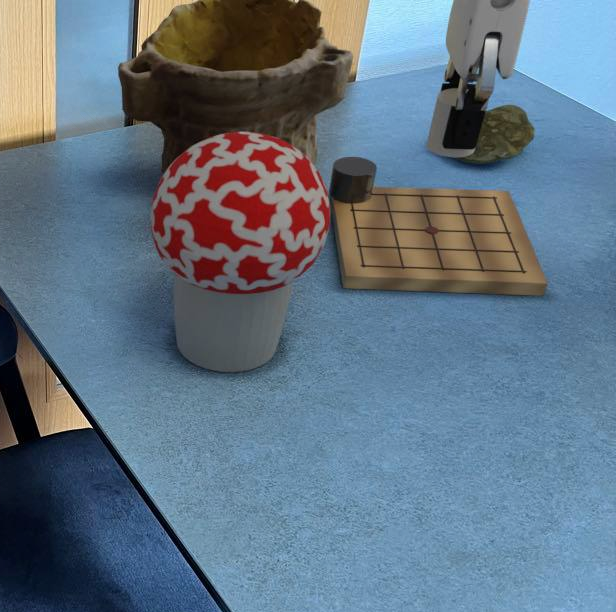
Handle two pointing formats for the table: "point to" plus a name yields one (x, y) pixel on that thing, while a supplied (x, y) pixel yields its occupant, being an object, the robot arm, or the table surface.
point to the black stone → (352, 179)
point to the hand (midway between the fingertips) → (454, 133)
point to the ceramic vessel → (235, 74)
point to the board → (435, 242)
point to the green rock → (501, 135)
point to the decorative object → (237, 243)
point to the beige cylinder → (443, 125)
